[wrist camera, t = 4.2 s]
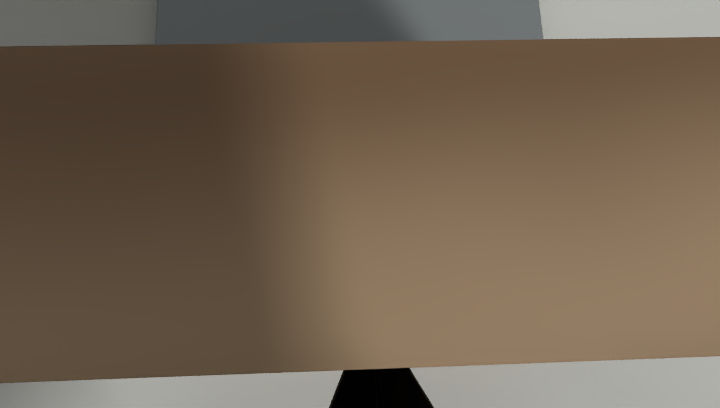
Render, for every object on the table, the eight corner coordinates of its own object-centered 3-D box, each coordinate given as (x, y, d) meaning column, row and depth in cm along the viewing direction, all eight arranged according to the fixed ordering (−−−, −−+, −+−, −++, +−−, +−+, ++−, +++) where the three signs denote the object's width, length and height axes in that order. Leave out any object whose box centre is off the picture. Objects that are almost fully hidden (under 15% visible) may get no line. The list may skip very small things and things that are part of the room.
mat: (555, 190, 17) (560, 187, 17) (151, 200, 17) (146, 197, 16) (524, -80, 20) (528, -88, 19) (166, -78, 19) (162, -87, 19)
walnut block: (540, 326, 16) (910, 348, 6) (174, 339, 16) (-172, 389, 5) (528, 208, 17) (827, 35, 7) (180, 217, 17) (-107, 48, 6)
